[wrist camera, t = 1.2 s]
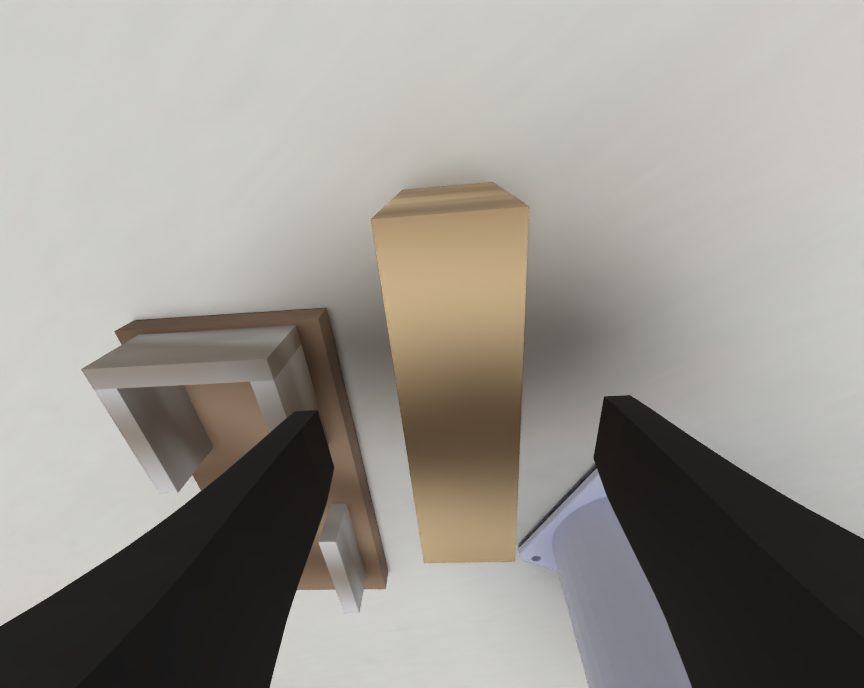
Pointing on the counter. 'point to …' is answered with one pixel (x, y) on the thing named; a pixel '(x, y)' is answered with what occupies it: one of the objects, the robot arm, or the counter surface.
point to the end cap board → (245, 418)
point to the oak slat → (458, 359)
